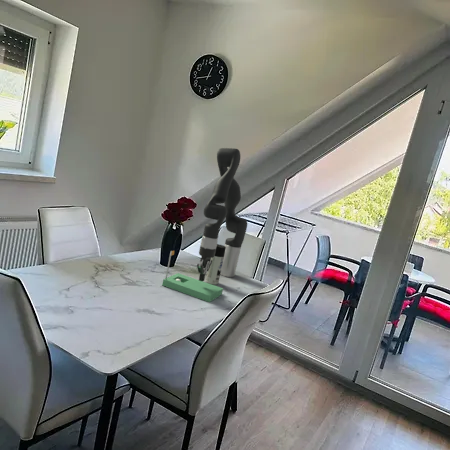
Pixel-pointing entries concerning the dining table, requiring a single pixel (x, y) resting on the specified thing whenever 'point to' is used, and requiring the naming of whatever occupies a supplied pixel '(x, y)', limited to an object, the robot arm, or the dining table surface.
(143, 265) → the dining table surface
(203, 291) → the putting green
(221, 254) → the spray can
